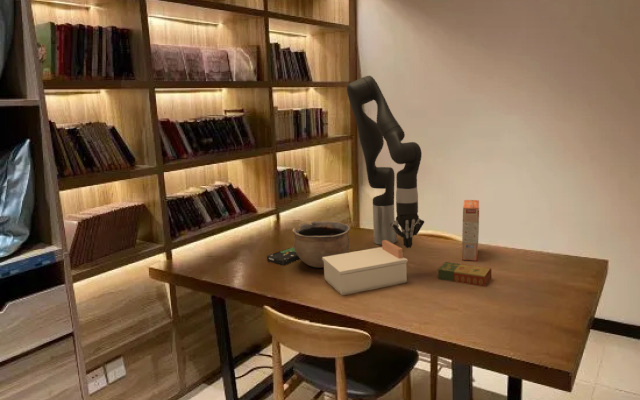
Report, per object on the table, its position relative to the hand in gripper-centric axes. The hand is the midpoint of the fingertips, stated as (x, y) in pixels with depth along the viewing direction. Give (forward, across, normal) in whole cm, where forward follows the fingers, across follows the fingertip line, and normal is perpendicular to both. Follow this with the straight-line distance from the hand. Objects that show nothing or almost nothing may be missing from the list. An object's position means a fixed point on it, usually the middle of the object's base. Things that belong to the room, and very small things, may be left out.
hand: (407, 247), depth 168 cm
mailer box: (+10, +17, 0) cm, 20 cm away
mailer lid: (+2, +17, 0) cm, 17 cm away
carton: (+10, -14, +14) cm, 22 cm away
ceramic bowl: (+10, +24, -23) cm, 35 cm away
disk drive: (+10, +34, -37) cm, 51 cm away
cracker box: (+10, -31, -5) cm, 33 cm away
